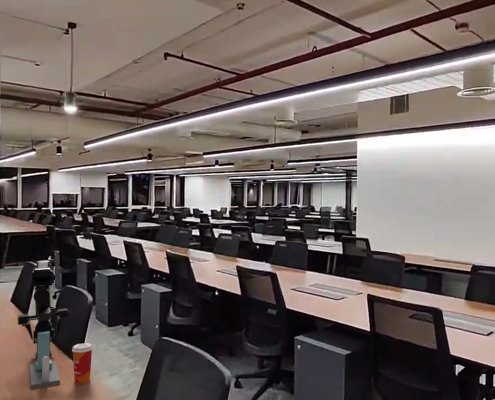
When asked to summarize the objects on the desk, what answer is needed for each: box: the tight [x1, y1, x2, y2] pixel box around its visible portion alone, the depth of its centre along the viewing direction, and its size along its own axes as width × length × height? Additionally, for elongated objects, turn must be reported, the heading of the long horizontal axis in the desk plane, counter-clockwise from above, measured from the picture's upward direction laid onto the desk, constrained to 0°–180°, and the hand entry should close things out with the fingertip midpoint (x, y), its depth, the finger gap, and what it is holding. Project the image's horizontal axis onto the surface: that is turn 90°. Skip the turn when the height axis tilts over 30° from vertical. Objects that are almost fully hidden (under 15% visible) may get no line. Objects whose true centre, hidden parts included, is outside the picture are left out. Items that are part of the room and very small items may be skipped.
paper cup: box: [71, 342, 93, 385], centre depth 174 cm, size 8×8×14 cm
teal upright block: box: [34, 331, 52, 370], centre depth 182 cm, size 9×6×14 cm, turn 28°
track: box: [29, 356, 61, 389], centre depth 179 cm, size 23×10×10 cm, turn 27°
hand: (44, 337), depth 180 cm, fingers open, 9 cm apart
